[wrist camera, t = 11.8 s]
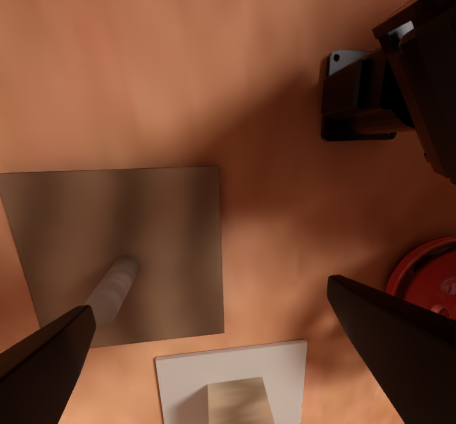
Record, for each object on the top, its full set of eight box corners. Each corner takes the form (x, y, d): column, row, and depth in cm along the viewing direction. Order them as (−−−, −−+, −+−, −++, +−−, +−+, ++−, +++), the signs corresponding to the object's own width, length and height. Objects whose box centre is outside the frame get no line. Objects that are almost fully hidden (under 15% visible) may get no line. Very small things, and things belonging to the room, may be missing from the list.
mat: (305, 339, 25) (307, 342, 25) (298, 429, 29) (299, 432, 28) (156, 357, 23) (155, 360, 23) (169, 450, 27) (168, 454, 27)
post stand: (217, 165, 19) (226, 174, 12) (223, 325, 23) (232, 394, 17) (6, 173, 17) (-113, 187, 11) (54, 343, 22) (-8, 428, 15)
